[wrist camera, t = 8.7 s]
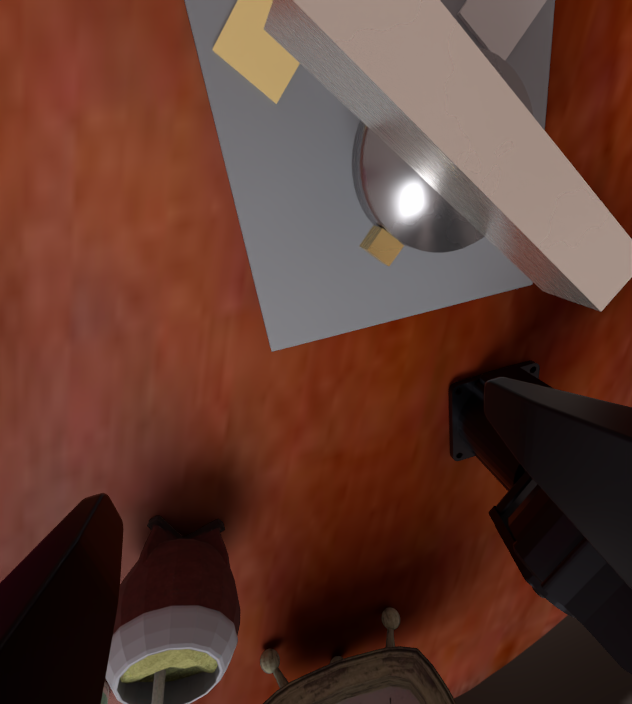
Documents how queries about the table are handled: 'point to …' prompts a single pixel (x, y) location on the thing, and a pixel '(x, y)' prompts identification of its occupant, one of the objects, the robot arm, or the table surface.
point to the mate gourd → (174, 618)
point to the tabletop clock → (364, 677)
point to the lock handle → (453, 145)
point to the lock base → (337, 174)
